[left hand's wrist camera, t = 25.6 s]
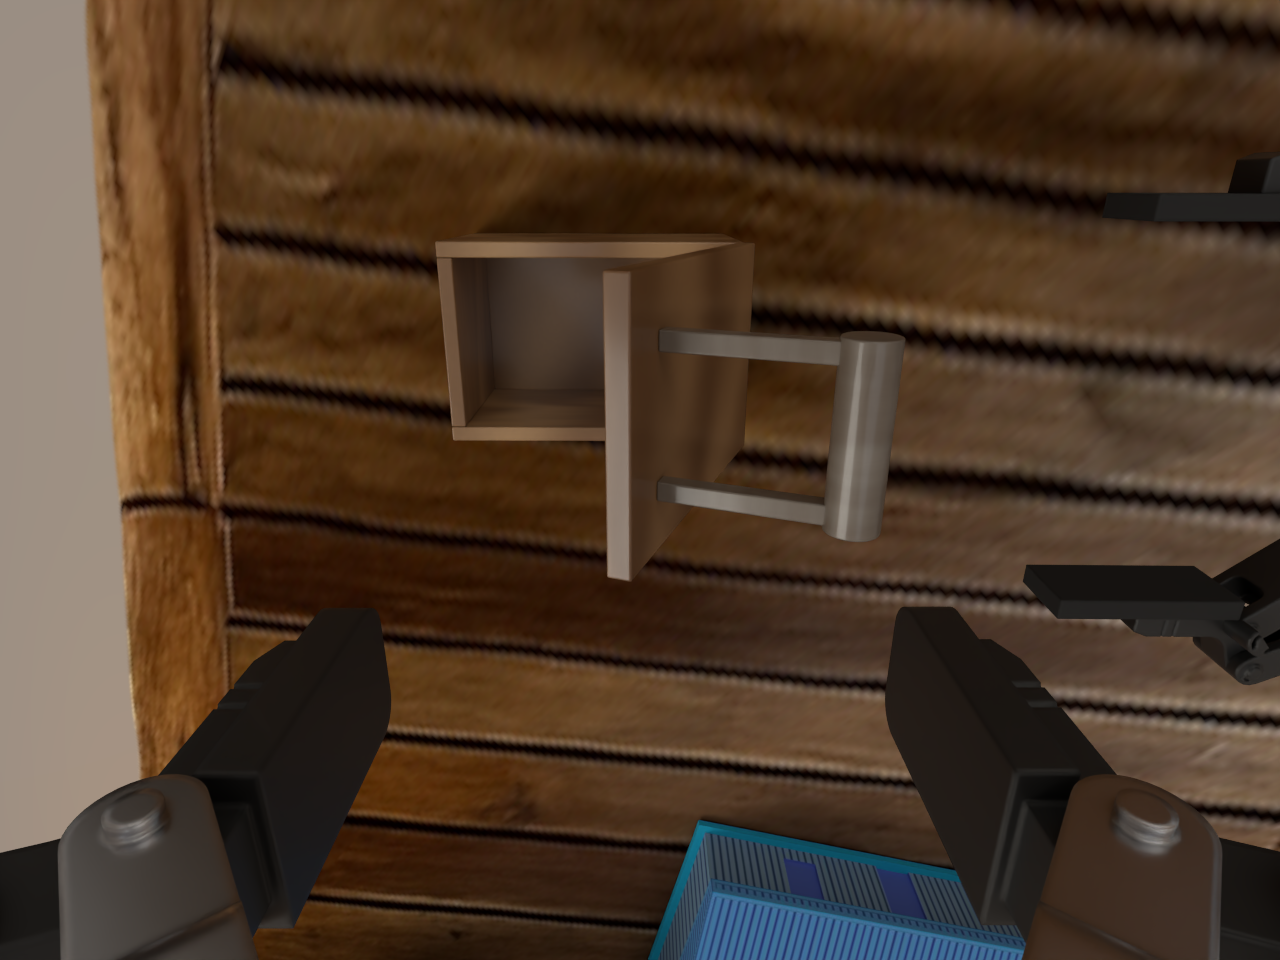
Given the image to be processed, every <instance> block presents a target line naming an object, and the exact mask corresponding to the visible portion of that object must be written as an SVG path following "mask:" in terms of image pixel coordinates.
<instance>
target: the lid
mask: <svg viewBox="0 0 1280 960" xmlns="http://www.w3.org/2000/svg"><path fill="white" fill-rule="evenodd" d="M754 254H755V244H754V243H734V244H729V245H724V246H719V247H714V248H709V249H704V250H699V251H695V252H690V253H685V254H680V255H675V256H670V257H665V258H660V259H655V260H650V261H646V262H641V263H636V264H631V265H626V266H621V267H616V268H611V269H606V270H604V271H603V328H604V395H605V462H606V529H607V576H608V577H609V578H613V579H619V580H624V581H632V580H633V578H634V577H635V576H636V575H637V574H638V572H639V571H640V570H641V569H642V568H643V566H644V565H645V564H646V563H647V562H648V560H649V559H650V558H651V557H652V555H653V554H654V553H655V552H656V551H657V549H658V548H659V547H660V546H661V545H662V543H663V542H664V541H665V540H666V539H667V537H668V536H669V535H670V534H671V533H672V531H673V530H674V529H675V528H676V526H677V525H678V524H679V523H680V522H681V520H682V519H683V518H684V517H685V516H686V514H687V513H688V512H689V511H690V510H691V508H692V507H693V506H696V507H702V508H709V509H716V510H723V511H729V512H736V513H743V514H749V515H756V516H763V517H770V518H776V519H783V520H790V521H797V522H803V523H810V524H817V525H822V529H823V531H824V532H825V533H826V534H828V535H830V536H832V537H834V538H837V539H840V540H845V541H851V542H865V541H871V540H874V539H876V538H877V537H878V536H879V535H880V532H881V525H882V517H883V509H884V501H885V494H886V486H887V478H888V470H889V463H890V455H891V447H892V439H893V432H894V424H895V416H896V408H897V401H898V393H899V385H900V378H901V370H902V362H903V354H904V347H905V338H904V337H902V336H900V335H897V334H892V333H885V332H873V331H856V332H847V333H844V334H842V335H841V336H840V338H836V337H821V336H805V335H790V334H774V333H758V332H750V327H751V309H752V291H753V272H754ZM749 359H758V360H771V361H784V362H797V363H810V364H823V365H836V366H837V375H836V385H835V395H834V405H833V415H832V426H831V436H830V446H829V456H828V466H827V477H826V487H825V497H824V498H823V497H816V496H808V495H801V494H793V493H786V492H779V491H771V490H764V489H757V488H749V487H742V486H735V485H727V484H720V483H713V482H714V481H715V479H716V478H717V477H718V476H719V475H720V473H721V472H722V471H723V470H724V468H725V467H726V466H727V465H728V464H729V462H730V461H731V460H732V459H733V458H734V456H735V455H736V454H737V453H738V452H739V450H740V449H741V448H742V447H743V446H744V436H745V418H746V400H747V382H748V363H749Z"/></svg>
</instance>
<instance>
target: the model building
mask: <svg viewBox="0 0 1280 960" xmlns="http://www.w3.org/2000/svg"><path fill="white" fill-rule="evenodd" d="M1025 946H1026V943H1025V941H1024V939H1023V937H1022V935H1021V933H1020V931H1019V929H1018V927H1017V926H1016V925H981V924H980V922H979V919H978V917H977V915H976V913H975V911H974V909H973V907H972V905H971V902H970V900H969V898H968V896H967V894H966V892H965V890H964V888H963V885H962V883H961V881H960V879H959V877H958V875H957V873H956V871H955V870H950V869H945V868H940V867H935V866H930V865H925V864H920V863H915V862H910V861H905V860H900V859H895V858H890V857H885V856H879V855H874V854H869V853H864V852H859V851H854V850H849V849H844V848H839V847H834V846H829V845H824V844H819V843H814V842H809V841H803V840H798V839H793V838H788V837H783V836H778V835H773V834H768V833H763V832H758V831H753V830H748V829H743V828H738V827H733V826H727V825H722V824H717V823H712V822H707V821H702V820H699V821H698V823H697V826H696V829H695V832H694V834H693V837H692V840H691V843H690V845H689V848H688V851H687V854H686V856H685V859H684V862H683V864H682V867H681V870H680V873H679V875H678V878H677V881H676V884H675V886H674V889H673V892H672V895H671V897H670V900H669V903H668V906H667V908H666V911H665V914H664V917H663V919H662V922H661V925H660V927H659V930H658V933H657V936H656V938H655V941H654V944H653V947H652V949H651V952H650V955H649V958H648V960H1021V959H1022V956H1023V953H1024V949H1025Z"/></svg>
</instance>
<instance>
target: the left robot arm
mask: <svg viewBox="0 0 1280 960" xmlns="http://www.w3.org/2000/svg"><path fill="white" fill-rule="evenodd" d="M885 707H886V716H887V721H888V725H889V729H890V732H891V734H892V737H893V739H894V741H895V743H896V745H897V747H898V749H899V751H900V754H901V756H902V758H903V760H904V762H905V764H906V766H907V768H908V771H909V773H910V775H911V777H912V779H913V781H914V783H915V785H916V788H917V790H918V792H919V794H920V796H921V798H922V800H923V802H924V805H925V807H926V809H927V811H928V813H929V815H930V817H931V819H932V822H933V824H934V826H935V828H936V830H937V832H938V834H939V837H940V839H941V841H942V843H943V845H944V847H945V849H946V851H947V854H948V856H949V858H950V860H951V862H952V864H953V866H954V868H955V871H956V873H957V875H958V877H959V879H960V881H961V883H962V885H963V888H964V890H965V892H966V894H967V896H968V898H969V900H970V902H971V905H972V907H973V909H974V911H975V913H976V915H977V917H978V919H979V922H980V924H981V925H1016V926H1017V927H1018V929H1019V931H1020V933H1021V935H1022V937H1023V939H1024V941H1025V943H1026V946H1025V949H1024V953H1023V956H1022V959H1021V960H1280V852H1279V851H1274V850H1270V849H1266V848H1261V847H1257V846H1253V845H1249V844H1244V843H1240V842H1236V841H1231V840H1227V839H1223V838H1219V837H1218V835H1217V834H1216V832H1215V830H1214V829H1213V827H1212V826H1211V825H1210V824H1209V823H1208V821H1207V820H1206V819H1205V818H1204V817H1203V816H1202V815H1201V814H1200V813H1199V812H1197V811H1196V810H1195V809H1194V808H1193V807H1191V806H1190V805H1189V804H1187V803H1186V802H1185V801H1183V800H1181V799H1180V798H1178V797H1177V796H1175V795H1173V794H1171V793H1170V792H1168V791H1166V790H1164V789H1162V788H1160V787H1157V786H1155V785H1152V784H1150V783H1147V782H1144V781H1141V780H1138V779H1135V778H1131V777H1126V776H1120V775H1117V774H1116V773H1115V772H1114V771H1113V770H1112V768H1111V767H1110V766H1109V765H1108V764H1107V762H1106V761H1105V760H1104V759H1103V758H1102V756H1101V755H1100V754H1099V753H1098V751H1097V750H1096V749H1095V748H1094V747H1093V745H1092V744H1091V743H1090V742H1089V741H1088V739H1087V738H1086V737H1085V736H1084V735H1083V733H1082V732H1081V731H1080V730H1079V729H1078V727H1077V726H1076V725H1075V724H1074V723H1073V721H1072V720H1071V719H1070V718H1069V716H1068V715H1067V714H1066V713H1065V712H1064V710H1063V709H1062V708H1058V707H1057V702H1056V701H1055V700H1054V698H1053V697H1052V696H1051V695H1050V694H1049V692H1048V691H1047V690H1046V689H1045V688H1041V683H1040V681H1039V680H1038V679H1037V678H1036V677H1035V675H1034V674H1033V673H1032V672H1031V671H1030V669H1029V668H1028V667H1027V666H1026V665H1025V663H1024V662H1023V661H1022V660H1021V659H1020V658H1018V657H1017V656H1015V655H1014V654H1012V653H1011V652H1009V651H1008V650H1006V649H1005V648H1003V647H1002V646H1000V645H999V644H997V643H996V642H994V641H993V640H991V639H978V637H977V636H976V635H975V633H974V632H973V631H972V630H971V628H970V627H969V626H968V624H967V623H966V622H965V621H964V619H963V618H962V617H961V615H960V614H959V613H958V611H957V610H956V609H954V608H953V607H902V608H901V609H900V610H899V611H898V614H897V617H896V621H895V627H894V635H893V642H892V649H891V656H890V663H889V670H888V677H887V684H886V692H885ZM390 712H391V691H390V684H389V677H388V670H387V663H386V656H385V649H384V642H383V635H382V628H381V622H380V618H379V615H378V612H377V611H376V610H375V609H374V608H324V609H322V610H320V611H319V612H318V614H317V615H316V616H315V617H314V619H313V620H312V621H311V623H310V624H309V625H308V626H307V628H306V629H305V630H304V632H303V633H302V634H301V635H300V637H299V638H298V639H297V641H284V642H282V643H281V644H279V645H278V646H276V647H274V648H273V649H271V650H270V651H268V652H267V653H265V654H264V655H262V656H261V657H259V658H258V659H256V660H255V661H254V662H253V663H252V664H251V665H250V666H249V668H248V669H247V670H246V671H245V672H244V674H243V675H242V676H241V677H240V678H239V680H238V681H237V682H236V683H235V684H234V689H230V690H229V692H228V693H227V694H226V695H225V696H224V697H223V699H222V700H221V701H220V702H219V703H218V708H217V709H213V711H212V712H211V713H210V714H209V715H208V717H207V718H206V719H205V720H204V721H203V723H202V724H201V725H200V726H199V727H198V729H197V730H196V731H195V732H194V733H193V735H192V736H191V737H190V738H189V739H188V741H187V742H186V743H185V744H184V745H183V747H182V748H181V749H180V750H179V751H178V753H177V754H176V755H175V756H174V757H173V758H172V760H171V761H170V762H169V763H168V764H167V766H166V767H165V768H164V769H163V770H162V772H161V773H160V774H159V775H158V776H154V777H149V778H145V779H142V780H139V781H136V782H133V783H130V784H128V785H125V786H123V787H120V788H118V789H116V790H114V791H112V792H111V793H109V794H107V795H105V796H104V797H102V798H100V799H99V800H97V801H96V802H94V803H93V804H91V805H90V806H89V807H87V808H86V809H85V810H84V811H83V812H81V813H80V814H79V815H78V816H77V817H76V818H75V819H74V820H73V821H72V823H71V824H70V825H69V826H68V827H67V829H66V830H65V832H64V834H63V835H62V837H61V839H57V840H53V841H50V842H45V843H41V844H37V845H33V846H28V847H24V848H20V849H15V850H11V851H6V852H3V853H0V960H259V959H258V956H257V953H256V949H255V946H254V942H253V939H252V938H253V936H254V934H255V932H256V930H257V929H258V928H294V925H295V923H296V921H297V919H298V917H299V915H300V913H301V911H302V909H303V907H304V904H305V902H306V900H307V898H308V896H309V894H310V892H311V890H312V888H313V886H314V883H315V881H316V879H317V877H318V875H319V873H320V871H321V869H322V867H323V864H324V862H325V860H326V858H327V856H328V854H329V852H330V850H331V848H332V846H333V843H334V841H335V839H336V837H337V835H338V833H339V831H340V829H341V827H342V825H343V822H344V820H345V818H346V816H347V814H348V812H349V810H350V808H351V806H352V804H353V801H354V799H355V797H356V795H357V793H358V791H359V789H360V787H361V785H362V783H363V780H364V778H365V776H366V774H367V772H368V770H369V768H370V766H371V764H372V762H373V759H374V757H375V755H376V753H377V751H378V749H379V747H380V745H381V743H382V740H383V738H384V736H385V734H386V731H387V728H388V724H389V719H390Z"/></svg>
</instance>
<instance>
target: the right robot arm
mask: <svg viewBox="0 0 1280 960" xmlns="http://www.w3.org/2000/svg"><path fill="white" fill-rule="evenodd" d="M1103 218H1117V219H1130V220H1144V221H1280V152H1266V153H1254V154H1251V155H1249V156H1246V157H1244V158H1241V159H1238V160H1237V161H1236V165H1235V169H1234V172H1233V176H1232V180H1231V183H1230V187H1229V191H1228V193H1108V194H1107V198H1106V203H1105V207H1104V212H1103ZM1023 582H1024V583H1025V584H1026V585H1027V587H1028V588H1029V589H1030V590H1031V591H1032V592H1033V593H1034V594H1035V595H1036V596H1037V597H1038V598H1039V599H1040V600H1041V602H1042V603H1043V604H1044V605H1045V606H1046V607H1047V608H1048V609H1049V610H1050V611H1051V612H1052V613H1053V614H1054V615H1055V617H1056V618H1057V619H1121V620H1122V621H1123V622H1124V623H1125V624H1126V625H1127V626H1128V627H1129V628H1130V629H1132V630H1133V631H1134V632H1136V633H1139V634H1141V635H1144V636H1167V637H1171V636H1174V637H1193V642H1194V644H1195V645H1196V646H1197V647H1198V648H1199V649H1200V650H1202V651H1203V652H1204V653H1205V654H1206V655H1208V656H1209V657H1210V658H1211V659H1212V660H1213V661H1215V662H1216V663H1217V664H1218V665H1219V666H1220V667H1222V668H1223V669H1224V670H1225V671H1226V672H1228V673H1229V674H1230V675H1231V676H1232V677H1233V678H1235V679H1236V680H1237V681H1238V682H1240V683H1242V684H1244V685H1252V684H1256V683H1259V682H1262V681H1265V680H1268V679H1271V678H1274V677H1277V676H1280V539H1279V540H1277V541H1275V542H1274V543H1272V544H1270V545H1268V546H1267V547H1265V548H1263V549H1262V550H1260V551H1258V552H1257V553H1255V554H1253V555H1251V556H1250V557H1248V558H1246V559H1245V560H1243V561H1241V562H1240V563H1238V564H1236V565H1234V566H1233V567H1231V568H1229V569H1228V570H1226V571H1224V572H1223V573H1221V574H1219V575H1217V576H1216V577H1214V578H1210V577H1209V576H1207V575H1206V574H1205V573H1203V572H1202V571H1200V570H1199V569H1198V568H1196V567H1195V566H1123V565H1026V570H1025V574H1024V579H1023ZM1245 603H1247V604H1249V605H1248V606H1247V607H1245V606H1244V605H1245Z"/></svg>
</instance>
